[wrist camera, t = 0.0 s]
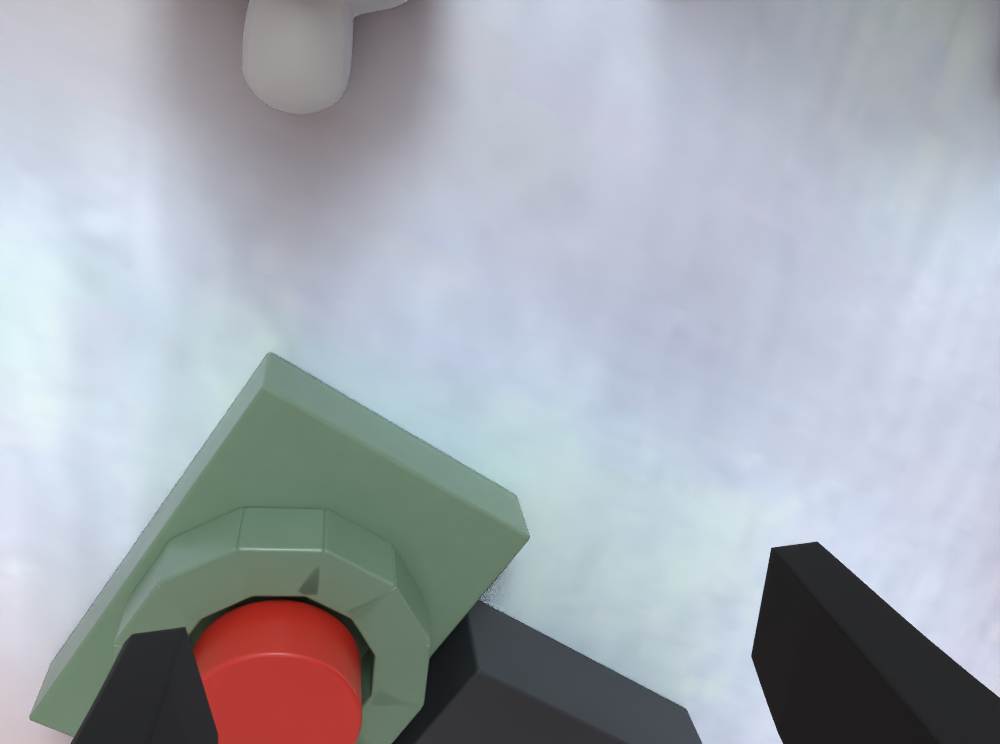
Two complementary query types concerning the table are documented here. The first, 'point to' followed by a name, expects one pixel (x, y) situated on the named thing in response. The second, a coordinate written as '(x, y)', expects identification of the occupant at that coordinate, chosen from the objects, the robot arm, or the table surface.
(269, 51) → the rubber duck
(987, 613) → the table surface
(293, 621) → the button
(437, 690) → the control panel
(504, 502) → the button housing
